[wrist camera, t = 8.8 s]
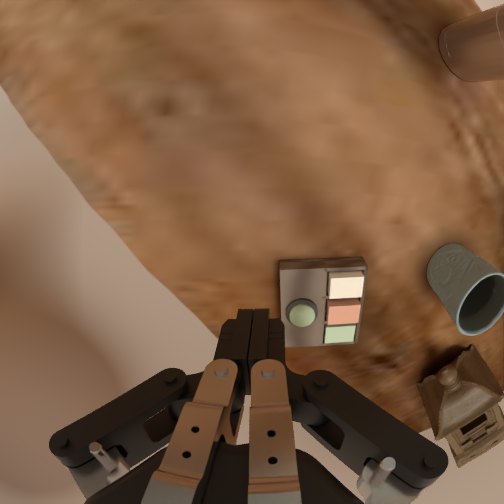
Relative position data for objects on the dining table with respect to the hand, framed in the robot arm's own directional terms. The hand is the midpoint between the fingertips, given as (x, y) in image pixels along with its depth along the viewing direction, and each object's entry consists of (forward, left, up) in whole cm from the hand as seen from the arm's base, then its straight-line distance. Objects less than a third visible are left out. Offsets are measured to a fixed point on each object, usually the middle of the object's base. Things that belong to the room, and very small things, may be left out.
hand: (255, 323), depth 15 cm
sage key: (-10, +21, -26) cm, 35 cm away
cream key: (-10, +12, -25) cm, 29 cm away
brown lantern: (-41, +42, -27) cm, 64 cm away
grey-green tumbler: (-29, +12, -27) cm, 42 cm away
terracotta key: (-10, +16, -25) cm, 32 cm away
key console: (-8, +16, -27) cm, 33 cm away
